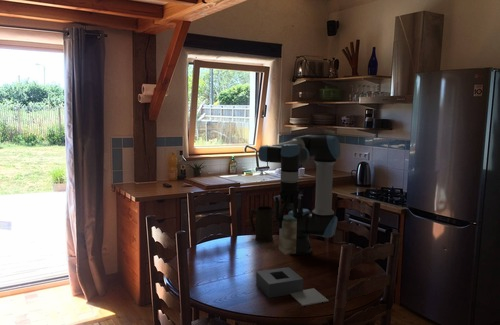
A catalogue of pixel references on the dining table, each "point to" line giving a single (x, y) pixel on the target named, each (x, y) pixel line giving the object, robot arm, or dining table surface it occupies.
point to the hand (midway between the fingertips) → (287, 234)
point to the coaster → (309, 297)
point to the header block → (279, 282)
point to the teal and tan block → (288, 235)
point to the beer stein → (262, 223)
